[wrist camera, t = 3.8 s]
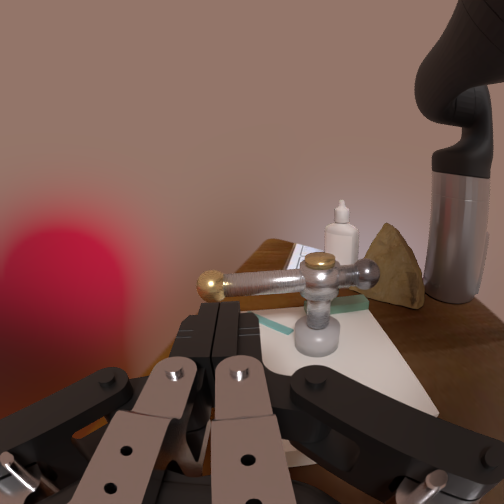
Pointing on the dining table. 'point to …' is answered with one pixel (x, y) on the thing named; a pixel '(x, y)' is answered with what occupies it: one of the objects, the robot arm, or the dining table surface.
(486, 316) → the dining table surface
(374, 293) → the rock
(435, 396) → the dining table surface
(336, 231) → the eye dropper bottle
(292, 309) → the stand
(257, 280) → the crank handle
